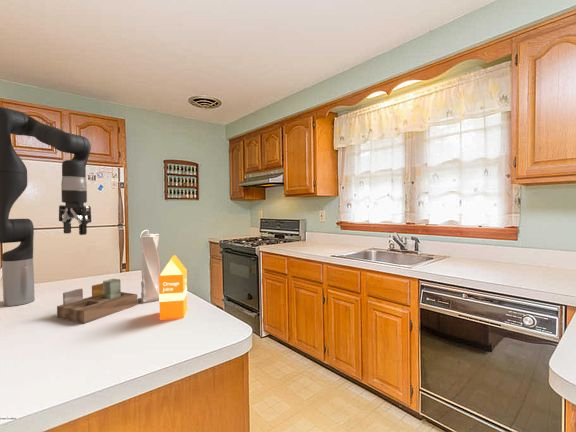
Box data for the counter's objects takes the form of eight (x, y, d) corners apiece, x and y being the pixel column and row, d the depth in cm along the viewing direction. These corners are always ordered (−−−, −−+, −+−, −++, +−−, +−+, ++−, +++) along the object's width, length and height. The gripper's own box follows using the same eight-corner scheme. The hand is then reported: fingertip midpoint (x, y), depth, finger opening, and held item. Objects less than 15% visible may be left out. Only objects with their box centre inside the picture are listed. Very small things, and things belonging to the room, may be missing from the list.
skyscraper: (137, 298, 122) (135, 230, 121) (158, 295, 127) (156, 229, 126) (141, 303, 115) (140, 231, 115) (163, 299, 120) (162, 230, 119)
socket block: (57, 317, 101) (56, 294, 101) (112, 300, 120) (111, 280, 120) (84, 323, 96) (83, 298, 96) (137, 304, 114) (137, 283, 114)
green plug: (103, 307, 111) (103, 281, 111) (113, 304, 115) (113, 278, 115) (111, 309, 110) (110, 281, 110) (121, 305, 113) (120, 279, 113)
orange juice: (159, 320, 98) (157, 259, 98) (164, 311, 107) (163, 255, 106) (184, 318, 100) (182, 258, 99) (187, 309, 108) (186, 254, 108)
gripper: (50, 189, 108) (51, 233, 109) (76, 189, 103) (77, 236, 104) (72, 190, 115) (72, 232, 116) (97, 190, 110) (98, 234, 111)
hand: (75, 234), depth 110 cm, fingers open, 8 cm apart
